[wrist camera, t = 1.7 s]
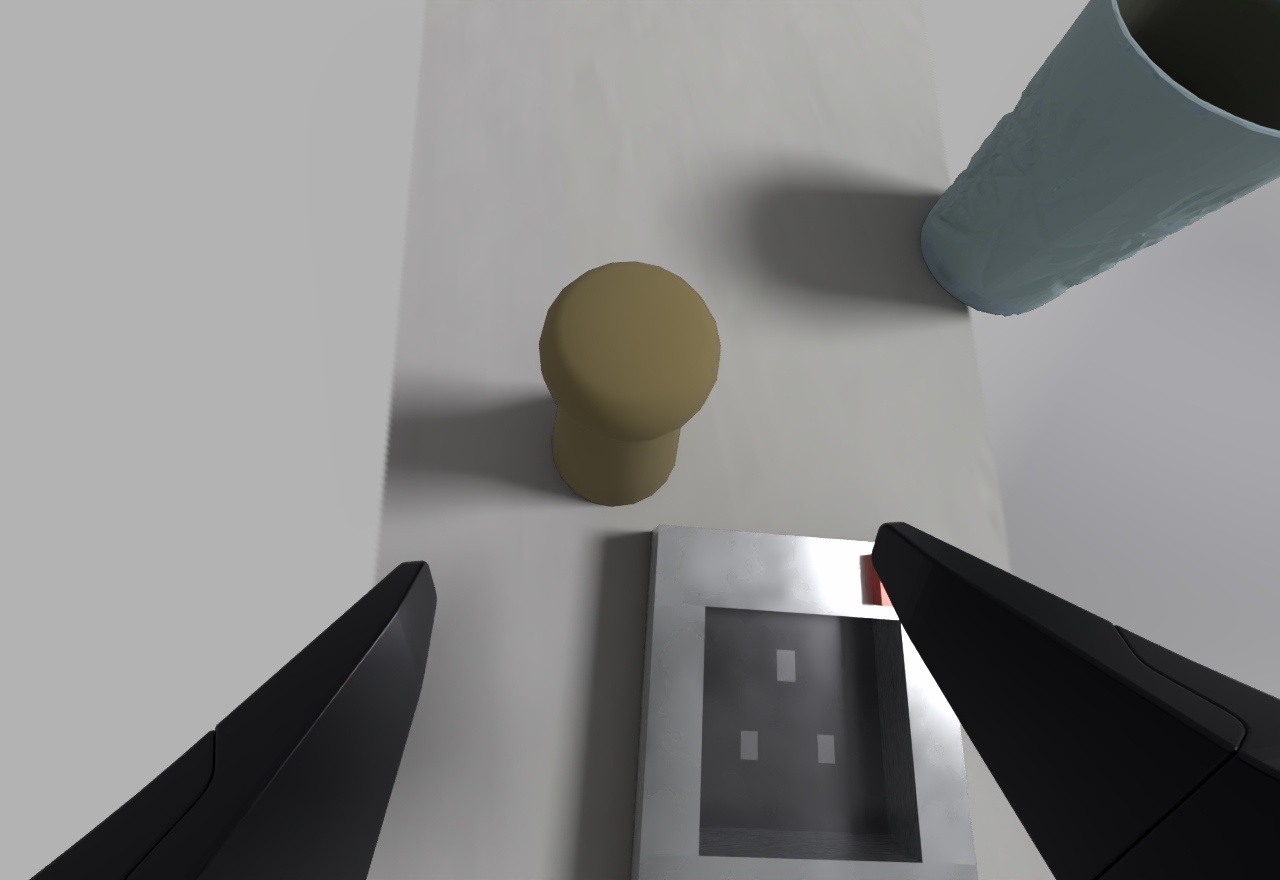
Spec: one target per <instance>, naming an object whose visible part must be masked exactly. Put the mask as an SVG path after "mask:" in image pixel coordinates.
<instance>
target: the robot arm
mask: <svg viewBox="0 0 1280 880" xmlns="http://www.w3.org/2000/svg"><path fill="white" fill-rule="evenodd" d="M871 561H872V564H873V567H874V569H875V571H876V573H877V575H878V577H879V579H880V581H881V583H882V585H883V587H884V590H885V592H886V594H887V596H888V598H889V600H890V602H891V604H892V606H893V608H894V610H895V612H896V614H897V616H898V618H899V621H900V622H901V624H902V626H903V628H904V630H905V632H906V634H907V635H908V637H909V639H910V641H911V642H912V644H913V646H914V647H915V649H916V651H917V652H918V654H919V656H920V657H921V659H922V661H923V662H924V664H925V665H926V667H927V669H928V670H929V672H930V674H931V675H932V677H933V679H934V680H935V682H936V683H937V685H938V687H939V688H940V690H941V692H942V693H943V695H944V697H945V698H946V700H947V702H948V703H949V705H950V706H951V708H952V710H953V711H954V713H955V715H956V716H957V718H958V720H959V721H960V723H961V724H962V726H963V728H964V729H965V731H966V733H967V734H968V736H969V738H970V739H971V741H972V743H973V744H974V746H975V747H976V749H977V751H978V752H979V754H980V756H981V757H982V759H983V761H984V762H985V764H986V766H987V767H988V769H989V770H990V772H991V774H992V775H993V777H994V779H995V780H996V782H997V784H998V785H999V787H1000V788H1001V790H1002V792H1003V793H1004V795H1005V797H1006V798H1007V800H1008V802H1009V803H1010V805H1011V807H1012V808H1013V810H1014V811H1015V813H1016V815H1017V816H1018V818H1019V820H1020V821H1021V823H1022V825H1023V826H1024V828H1025V830H1026V831H1027V833H1028V834H1029V836H1030V838H1031V839H1032V841H1033V843H1034V844H1035V846H1036V848H1037V849H1038V851H1039V852H1040V854H1041V856H1042V857H1043V859H1044V861H1045V862H1046V864H1047V866H1048V867H1049V869H1050V871H1051V872H1052V874H1053V875H1054V877H1055V879H1056V880H1280V699H1278V698H1276V697H1274V696H1271V695H1269V694H1267V693H1264V692H1262V691H1260V690H1257V689H1255V688H1253V687H1251V686H1248V685H1246V684H1244V683H1241V682H1239V681H1237V680H1235V679H1232V678H1230V677H1228V676H1226V675H1223V674H1221V673H1219V672H1217V671H1214V670H1212V669H1210V668H1208V667H1205V666H1203V665H1201V664H1198V663H1196V662H1194V661H1192V660H1190V659H1187V658H1185V657H1183V656H1181V655H1179V654H1177V653H1174V652H1172V651H1170V650H1168V649H1166V648H1164V647H1162V646H1160V645H1158V644H1155V643H1153V642H1151V641H1149V640H1147V639H1145V638H1143V637H1141V636H1139V635H1137V634H1134V633H1132V632H1130V631H1128V630H1126V629H1124V628H1122V627H1120V626H1117V625H1113V624H1112V623H1111V622H1109V621H1107V620H1105V619H1103V618H1101V617H1099V616H1097V615H1095V614H1093V613H1091V612H1089V611H1087V610H1085V609H1082V608H1080V607H1078V606H1076V605H1074V604H1072V603H1070V602H1068V601H1066V600H1064V599H1062V598H1060V597H1058V596H1056V595H1054V594H1051V593H1049V592H1047V591H1045V590H1043V589H1041V588H1039V587H1037V586H1035V585H1033V584H1031V583H1029V582H1027V581H1025V580H1022V579H1020V578H1018V577H1016V576H1014V575H1012V574H1010V573H1008V572H1006V571H1004V570H1002V569H1000V568H998V567H996V566H993V565H991V564H989V563H987V562H985V561H983V560H981V559H979V558H977V557H975V556H973V555H971V554H969V553H967V552H964V551H962V550H960V549H958V548H956V547H954V546H952V545H950V544H948V543H946V542H944V541H942V540H940V539H938V538H935V537H933V536H931V535H929V534H927V533H925V532H923V531H921V530H919V529H917V528H915V527H913V526H911V525H909V524H907V523H904V522H889V523H884V524H882V525H881V526H880V527H879V530H878V533H877V536H876V539H875V542H874V545H873V548H872V552H871ZM436 603H437V596H436V590H435V587H434V583H433V579H432V576H431V572H430V569H429V566H428V564H427V562H425V561H412V562H404V563H401V564H400V565H399V566H397V567H396V568H395V569H394V570H393V571H392V572H391V573H389V574H388V575H387V576H386V577H385V578H384V579H383V580H381V581H380V582H379V583H378V584H377V585H376V586H375V587H373V588H372V589H371V590H370V591H369V592H368V593H367V594H366V595H364V596H363V597H362V598H361V599H360V600H359V601H358V602H356V603H355V604H354V605H353V606H352V607H351V608H350V609H349V610H347V611H346V612H345V613H344V614H343V615H342V616H341V617H340V618H338V619H337V620H336V621H335V622H334V623H332V624H331V625H330V626H329V627H328V628H327V629H326V630H325V631H323V632H322V633H321V634H320V635H319V636H318V637H317V638H315V639H314V640H313V641H312V642H311V643H310V644H309V645H307V646H306V647H305V648H304V649H303V650H302V651H301V652H300V653H298V654H297V655H296V656H295V657H294V658H293V659H291V660H290V661H289V662H288V663H287V664H286V665H285V666H283V667H282V668H281V669H280V670H279V671H278V672H277V673H276V674H274V675H273V676H272V677H271V678H270V679H269V680H268V681H267V682H265V683H264V684H263V685H262V686H261V687H260V688H258V689H257V690H256V691H255V692H254V693H253V694H252V695H251V696H249V697H248V698H247V699H246V700H245V701H244V702H243V703H241V705H239V706H238V707H237V708H236V709H235V710H233V711H232V712H231V713H230V714H229V715H228V716H227V717H226V718H224V719H223V720H222V721H221V722H220V723H219V724H218V725H217V726H216V728H215V731H214V730H213V731H209V732H208V733H207V734H206V735H205V736H204V737H202V738H201V739H200V740H199V741H198V742H197V743H196V744H194V745H193V746H192V747H191V748H190V749H189V750H188V751H186V752H185V753H184V754H183V755H182V756H181V757H180V758H178V759H177V760H176V761H175V762H174V763H172V764H171V765H170V766H169V767H168V768H167V769H165V770H164V771H163V772H162V773H161V774H160V775H158V776H157V777H156V778H155V779H154V780H153V781H151V782H150V783H149V784H148V785H147V786H145V787H144V788H143V789H142V790H141V791H140V792H138V793H137V794H136V795H135V796H134V797H132V798H131V799H130V800H129V801H127V802H126V803H125V804H124V805H122V806H121V807H120V808H119V809H118V810H116V811H115V812H114V813H113V814H111V815H110V816H109V817H108V818H106V819H105V820H104V821H103V822H101V823H100V824H99V825H98V826H97V827H95V828H94V829H93V830H92V831H90V832H89V833H88V834H87V835H85V836H84V837H83V838H82V839H80V840H79V841H78V842H76V843H75V844H74V845H73V846H71V847H70V848H69V849H68V850H66V851H65V852H64V853H63V854H61V855H60V856H59V857H57V858H56V859H55V860H54V861H52V862H51V863H50V864H49V865H47V866H46V867H45V868H44V869H43V870H41V871H40V872H38V873H37V874H36V875H35V876H34V877H32V878H31V879H30V880H366V878H367V875H368V872H369V868H370V865H371V861H372V858H373V854H374V851H375V847H376V844H377V841H378V837H379V834H380V830H381V827H382V823H383V820H384V817H385V813H386V810H387V806H388V803H389V799H390V796H391V792H392V789H393V786H394V782H395V779H396V775H397V772H398V768H399V765H400V761H401V758H402V755H403V751H404V748H405V744H406V741H407V737H408V734H409V730H410V727H411V724H412V720H413V717H414V713H415V710H416V706H417V703H418V700H419V696H420V692H421V688H422V684H423V679H424V674H425V668H426V662H427V656H428V651H429V645H430V639H431V633H432V627H433V622H434V616H435V610H436Z"/></svg>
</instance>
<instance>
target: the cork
mask: <svg viewBox="0 0 1280 880" xmlns="http://www.w3.org/2000/svg"><path fill="white" fill-rule="evenodd" d="M720 348H721V345H720V340H719V335H718V331H717V326H716V321H715V319H714V318H713V316H712V314H711V313H710V311H709V309H708V307H707V306H706V304H705V302H704V300H703V299H702V298H701V296H700V295H699V294H698V293H697V292H696V291H695V290H694V289H693V288H692V287H691V286H690V285H689V284H688V283H686V282H685V281H684V280H683V279H682V278H681V277H679V276H677V275H675V274H673V273H671V272H669V271H667V270H665V269H663V268H661V267H659V266H654V265H650V264H645V263H640V262H617V263H609V264H607V265H604V266H601V267H598V268H595V269H592V270H589V271H587V272H586V273H584V274H583V275H581V276H580V277H579V278H577V279H576V280H575V281H573V282H572V283H570V284H569V285H568V286H566V287H565V288H564V289H562V291H561V292H560V294H559V295H558V297H557V298H556V299H555V301H554V302H553V304H552V305H551V306H550V308H549V309H548V312H547V316H546V319H545V323H544V327H543V330H542V334H541V337H540V341H539V351H540V362H541V371H542V375H543V378H544V381H545V383H546V385H547V387H548V389H549V391H550V394H551V396H552V398H553V400H554V402H555V403H556V404H557V412H556V418H555V424H554V430H553V436H552V449H553V460H554V462H555V465H556V467H557V469H558V471H559V473H560V476H561V478H562V479H563V480H564V481H565V482H566V483H567V484H568V486H569V487H570V488H571V489H572V490H573V491H574V492H575V493H577V494H578V495H580V496H582V497H584V498H586V499H587V500H589V501H591V502H593V503H598V504H603V505H608V506H621V505H629V504H634V503H637V502H639V501H641V500H643V499H645V498H647V497H649V496H651V495H653V494H654V493H655V492H656V491H657V490H658V489H659V488H660V487H661V486H662V485H663V484H664V483H665V482H666V481H667V479H668V477H669V475H670V473H671V471H672V469H673V467H674V465H675V460H676V454H677V448H678V442H679V435H680V429H681V427H682V426H683V425H684V424H685V423H686V422H687V421H688V420H690V419H691V418H692V417H693V416H694V415H695V414H696V413H697V412H698V411H699V410H700V409H701V407H702V406H703V404H704V403H705V401H706V399H707V397H708V395H709V394H710V392H711V390H712V388H713V386H714V384H715V382H716V380H717V374H718V367H719V360H720Z"/></svg>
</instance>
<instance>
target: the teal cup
mask: <svg viewBox="0 0 1280 880" xmlns="http://www.w3.org/2000/svg"><path fill="white" fill-rule="evenodd" d="M1278 177H1280V0H1090V1H1089V3H1088V4H1087V6H1086V7H1085V9H1084V10H1083V11H1082V12H1081V14H1080V15H1079V17H1078V18H1077V19H1076V21H1075V22H1074V23H1073V25H1072V26H1071V27H1070V29H1069V30H1068V32H1067V33H1066V34H1065V36H1064V37H1063V39H1062V40H1061V41H1060V42H1059V44H1058V45H1057V46H1056V47H1055V49H1054V50H1053V51H1052V53H1051V54H1050V56H1048V58H1047V59H1046V61H1045V63H1044V64H1043V65H1042V67H1041V68H1040V69H1039V70H1038V72H1037V73H1036V74H1035V76H1034V77H1033V78H1032V79H1031V81H1030V82H1029V84H1028V85H1027V87H1026V89H1025V90H1024V91H1023V92H1022V97H1021V99H1020V100H1019V102H1018V104H1017V105H1016V107H1015V109H1014V111H1013V112H1011V113H1008V114H1006V115H1004V116H1003V117H1002V119H1001V120H1000V121H999V122H998V124H997V125H996V127H995V128H994V130H993V131H992V133H991V134H990V135H989V136H988V137H987V138H986V139H985V140H984V142H983V143H982V145H981V147H980V149H979V150H978V151H977V152H976V153H975V154H974V155H973V157H972V158H971V161H970V163H969V165H968V167H967V169H966V170H964V171H963V172H962V173H961V174H959V175H958V177H957V178H956V180H955V181H954V183H953V184H952V185H951V186H950V187H949V188H948V189H947V190H946V192H945V193H944V194H943V195H942V197H941V198H940V199H939V201H938V202H937V203H936V204H935V205H934V207H933V208H932V209H931V211H930V213H929V214H928V216H927V218H926V220H925V222H924V225H923V227H922V231H921V249H922V254H923V257H924V259H925V262H926V264H927V266H928V268H929V270H930V271H931V273H932V275H933V276H934V277H935V279H936V280H937V281H938V282H939V283H940V285H941V286H942V287H943V288H944V289H945V290H946V291H947V292H949V293H950V294H951V295H952V296H953V297H955V298H956V299H958V300H960V301H961V302H963V303H964V304H966V305H968V306H970V307H972V308H974V309H976V310H978V311H982V312H986V313H991V314H995V315H1001V314H1002V315H1004V316H1010V315H1012V314H1017V315H1019V314H1021V313H1024V312H1028V311H1031V310H1034V309H1036V308H1038V307H1040V306H1042V305H1044V304H1046V303H1047V302H1049V301H1051V300H1053V299H1055V298H1056V297H1058V296H1059V295H1061V294H1063V293H1065V292H1066V290H1067V289H1068V288H1070V287H1072V286H1074V285H1078V284H1080V283H1083V282H1085V281H1087V280H1089V279H1090V278H1092V277H1094V276H1096V275H1098V274H1099V273H1102V272H1104V271H1106V270H1108V269H1110V268H1112V267H1114V265H1116V264H1117V262H1119V261H1122V260H1125V259H1127V258H1130V257H1132V256H1133V255H1135V254H1136V253H1137V251H1139V250H1141V249H1143V248H1146V247H1148V246H1151V245H1153V244H1156V243H1158V242H1160V241H1162V240H1163V239H1164V238H1165V237H1166V236H1168V235H1170V234H1172V233H1175V232H1177V231H1179V230H1181V229H1183V228H1184V227H1185V226H1188V225H1191V224H1192V223H1194V222H1195V221H1198V220H1199V219H1201V218H1202V217H1204V216H1205V215H1206V214H1208V213H1210V212H1213V211H1216V210H1218V209H1219V208H1221V207H1223V206H1224V205H1226V204H1228V203H1230V202H1232V201H1235V200H1237V199H1239V198H1241V197H1243V196H1244V195H1246V194H1248V193H1250V192H1252V191H1254V190H1256V189H1257V188H1259V187H1261V186H1263V185H1265V184H1267V183H1269V182H1271V181H1272V180H1274V179H1276V178H1278Z"/></svg>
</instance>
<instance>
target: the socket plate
mask: <svg viewBox="0 0 1280 880" xmlns="http://www.w3.org/2000/svg"><path fill="white" fill-rule="evenodd" d="M873 545H874V542H862V541H850V540H838V539H826V538H814V537H802V536H790V535H778V534H765V533H753V532H741V531H729V530H717V529H705V528H693V527H681V526H669V525H658V526H657V527H656V528H655V529H653V530H652V533H651V549H650V565H649V581H648V598H647V614H646V630H645V646H644V663H643V679H642V695H641V711H640V728H639V744H638V760H637V776H636V793H635V809H634V825H633V841H632V858H631V874H630V880H978V874H977V866H976V857H975V849H974V840H973V832H972V824H971V815H970V807H969V798H968V790H967V781H966V773H965V765H964V756H963V748H962V739H961V731H960V722H959V720H958V718H957V716H956V715H955V713H954V711H953V710H952V708H951V706H950V705H949V703H948V702H947V700H946V698H945V697H944V695H943V693H942V692H941V690H940V688H939V687H938V685H937V683H936V682H935V680H934V679H933V677H932V675H931V674H930V672H929V670H928V669H927V667H926V665H925V664H924V662H923V661H922V659H921V657H920V656H919V654H918V652H917V651H916V649H915V647H914V646H913V644H912V642H911V641H910V639H909V637H908V635H907V634H906V632H905V630H904V628H903V626H902V624H901V622H900V621H899V618H898V616H897V614H896V612H895V610H894V608H893V606H892V604H891V602H890V600H889V598H888V596H887V594H886V592H885V590H884V587H883V585H882V583H881V581H880V579H879V577H878V575H877V573H876V571H875V569H874V567H873V564H872V561H871V552H872V548H873Z"/></svg>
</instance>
